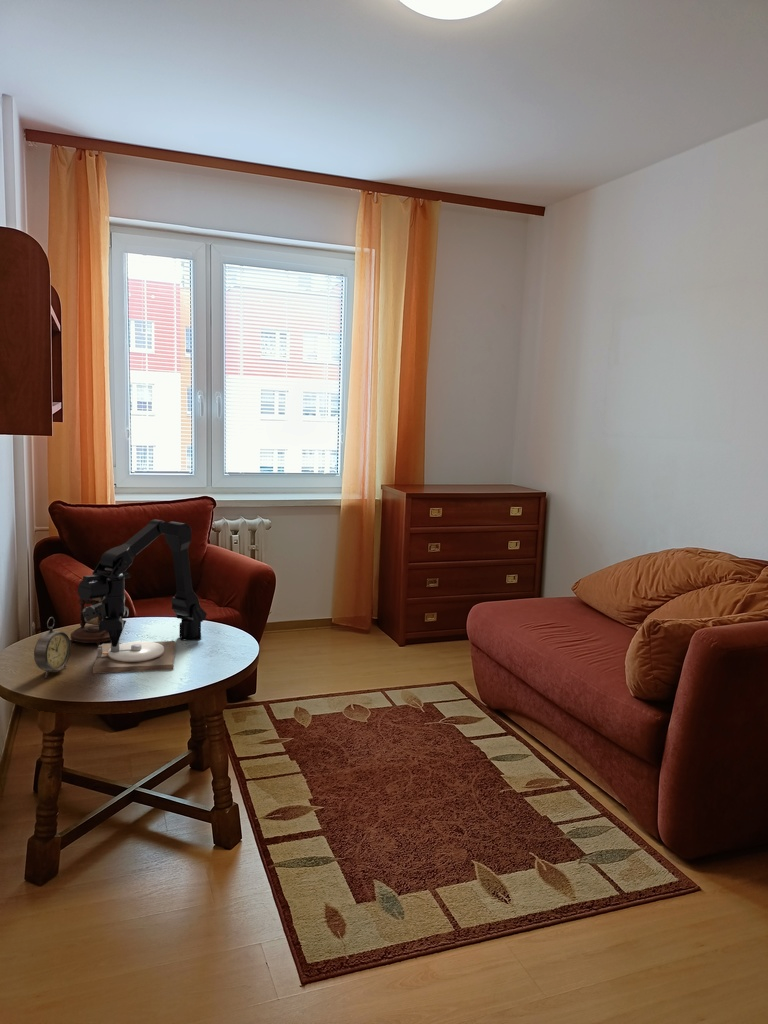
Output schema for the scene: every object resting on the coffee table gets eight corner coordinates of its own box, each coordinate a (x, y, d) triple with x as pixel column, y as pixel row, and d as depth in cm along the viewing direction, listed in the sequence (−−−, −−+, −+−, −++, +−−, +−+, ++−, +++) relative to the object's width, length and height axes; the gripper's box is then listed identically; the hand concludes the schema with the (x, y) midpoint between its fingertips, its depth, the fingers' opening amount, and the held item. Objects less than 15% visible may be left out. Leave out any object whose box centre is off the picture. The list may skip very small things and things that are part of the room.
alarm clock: (47, 680, 197) (46, 623, 195) (30, 678, 198) (29, 621, 196) (72, 667, 208) (71, 613, 206) (56, 665, 209) (55, 611, 207)
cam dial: (161, 642, 228) (161, 623, 227) (166, 659, 213) (166, 638, 212) (102, 647, 221) (102, 627, 220) (103, 664, 206) (102, 643, 206)
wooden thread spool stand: (129, 636, 238) (128, 577, 236) (100, 649, 224) (99, 587, 221) (91, 630, 242) (90, 572, 239) (60, 643, 228) (59, 582, 225)
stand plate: (175, 645, 231) (175, 633, 230) (173, 669, 210) (173, 656, 209) (102, 648, 225) (101, 636, 225) (92, 673, 204) (92, 659, 204)
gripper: (89, 588, 217) (90, 638, 219) (79, 602, 199) (79, 657, 201) (128, 587, 220) (128, 637, 222) (121, 601, 202) (121, 655, 204)
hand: (114, 646), depth 212 cm, fingers closed
